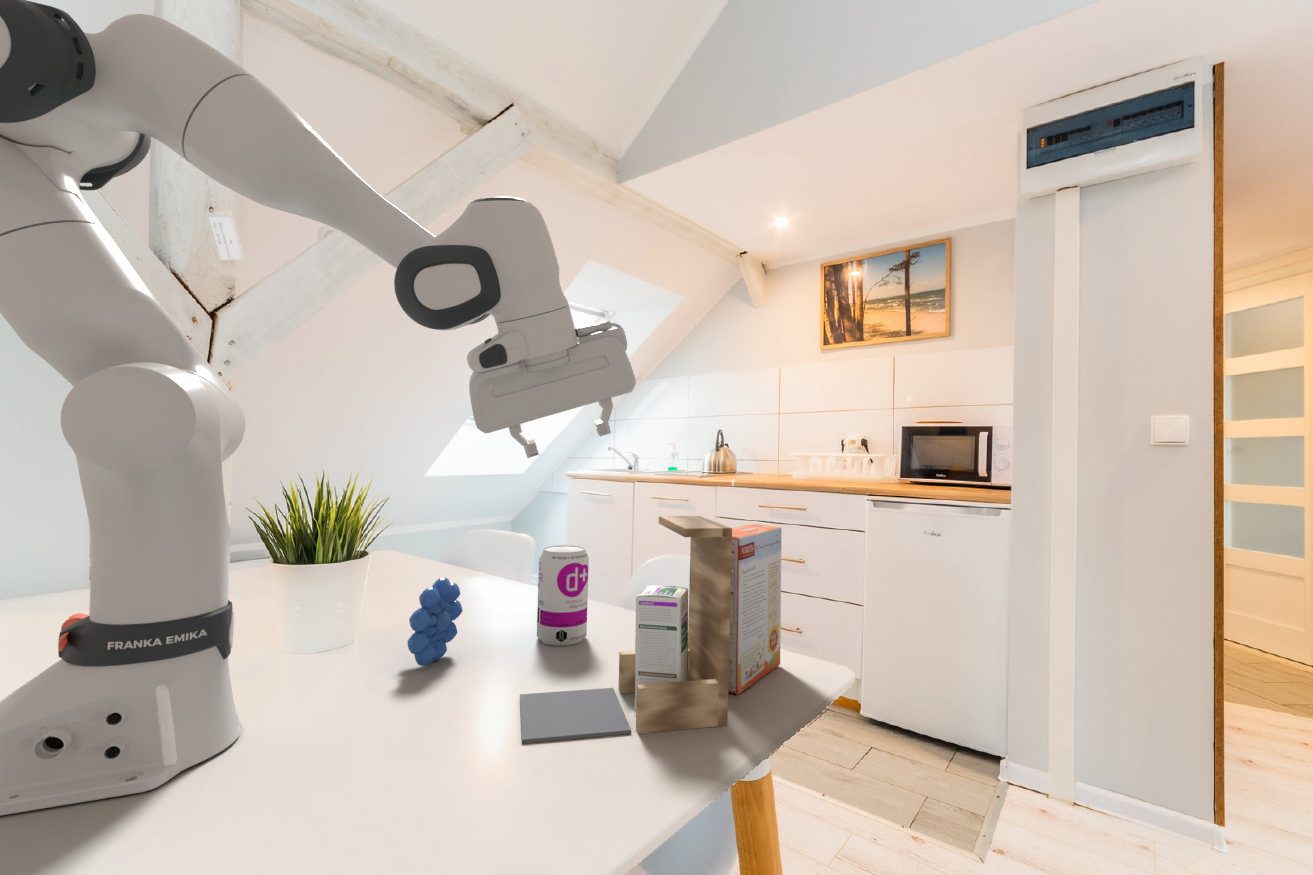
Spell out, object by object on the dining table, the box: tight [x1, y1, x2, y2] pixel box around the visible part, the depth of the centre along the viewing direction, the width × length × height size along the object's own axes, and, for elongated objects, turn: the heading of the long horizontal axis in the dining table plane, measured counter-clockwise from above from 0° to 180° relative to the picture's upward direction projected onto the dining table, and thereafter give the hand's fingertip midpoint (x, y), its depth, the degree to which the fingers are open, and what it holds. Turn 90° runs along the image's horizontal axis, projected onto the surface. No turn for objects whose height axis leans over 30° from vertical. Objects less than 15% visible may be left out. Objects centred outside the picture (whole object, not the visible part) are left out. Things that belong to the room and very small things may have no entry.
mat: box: [519, 687, 632, 744], centre depth 72 cm, size 12×12×1 cm
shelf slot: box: [617, 515, 733, 734], centre depth 75 cm, size 11×12×23 cm
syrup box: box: [634, 584, 689, 714], centre depth 74 cm, size 6×6×14 cm
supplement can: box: [536, 544, 590, 647], centre depth 100 cm, size 8×8×15 cm
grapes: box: [407, 576, 464, 667], centre depth 88 cm, size 12×7×12 cm, turn 167°
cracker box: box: [728, 523, 782, 695], centre depth 86 cm, size 14×6×21 cm, turn 145°
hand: (569, 444), depth 76 cm, fingers open, 8 cm apart
